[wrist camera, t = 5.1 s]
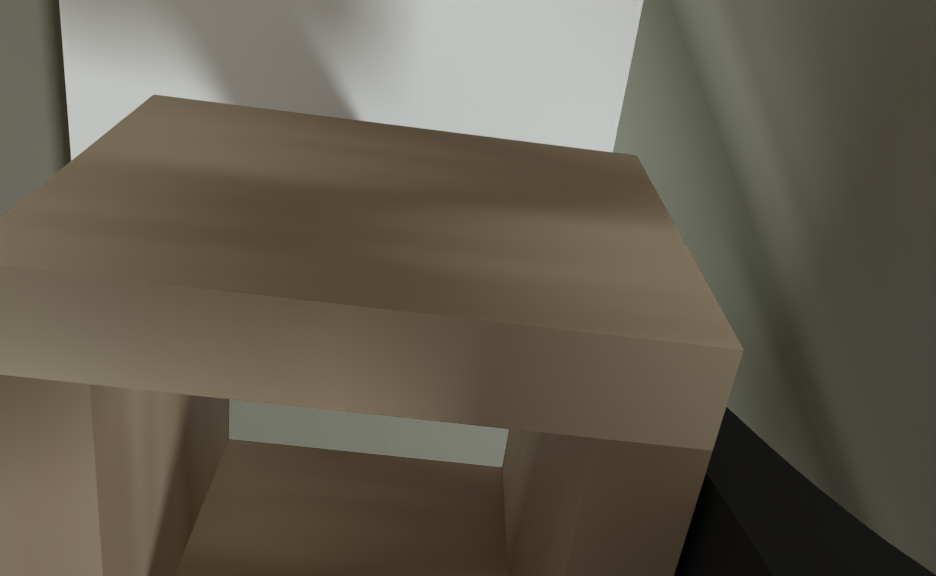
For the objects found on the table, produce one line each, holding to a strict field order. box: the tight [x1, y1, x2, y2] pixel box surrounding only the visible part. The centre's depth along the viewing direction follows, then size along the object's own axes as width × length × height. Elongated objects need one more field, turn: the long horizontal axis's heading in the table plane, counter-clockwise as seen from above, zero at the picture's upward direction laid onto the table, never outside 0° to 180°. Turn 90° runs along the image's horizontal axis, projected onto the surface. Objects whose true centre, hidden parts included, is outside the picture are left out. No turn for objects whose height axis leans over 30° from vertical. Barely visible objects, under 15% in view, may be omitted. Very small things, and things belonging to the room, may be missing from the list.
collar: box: [0, 95, 744, 576], centre depth 10 cm, size 6×6×4 cm
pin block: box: [59, 0, 643, 161], centre depth 16 cm, size 10×9×5 cm
